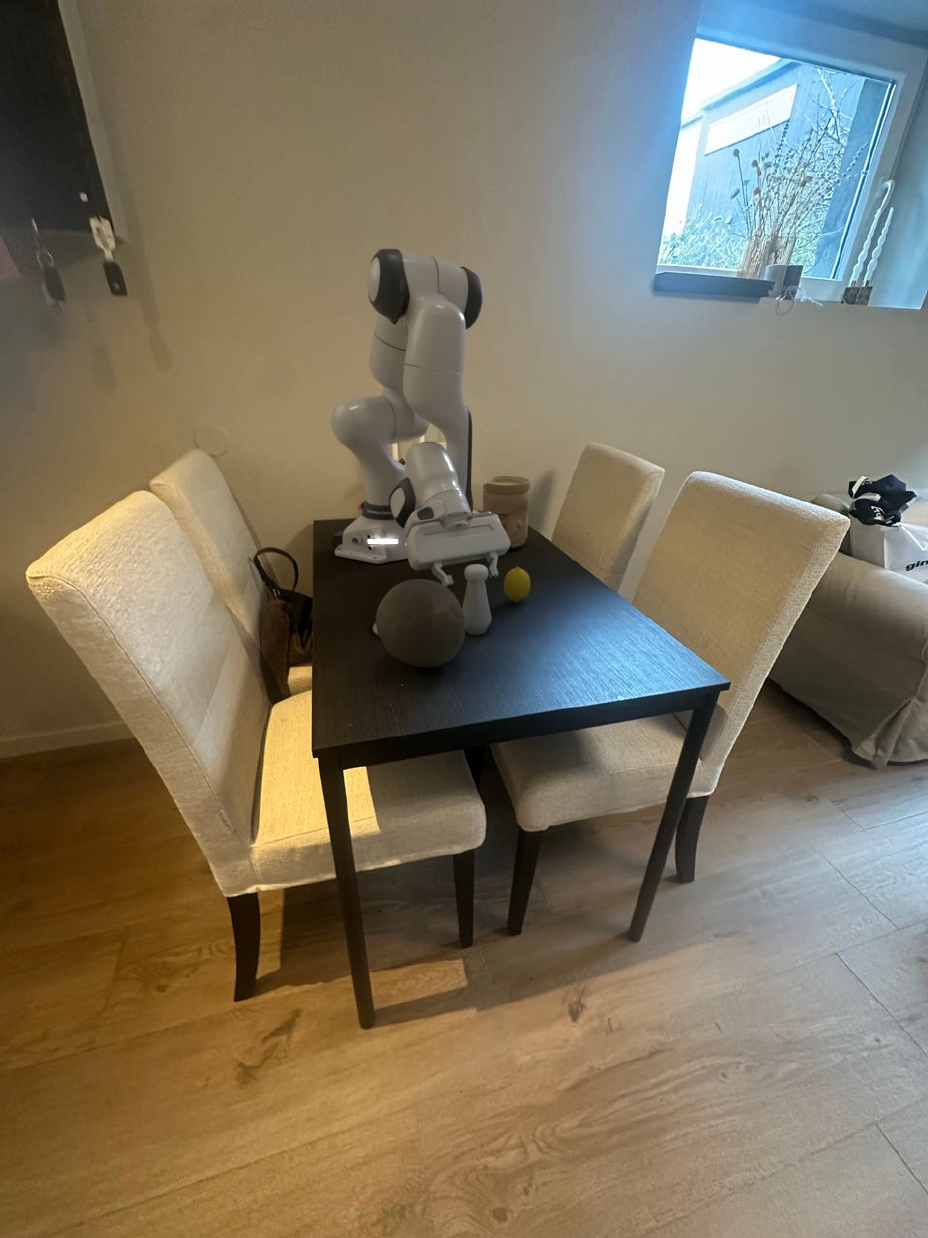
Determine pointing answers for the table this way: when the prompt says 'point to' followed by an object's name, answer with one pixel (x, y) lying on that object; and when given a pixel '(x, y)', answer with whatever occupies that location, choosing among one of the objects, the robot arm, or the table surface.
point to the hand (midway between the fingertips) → (471, 581)
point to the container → (509, 505)
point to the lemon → (517, 584)
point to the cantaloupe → (421, 623)
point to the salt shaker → (476, 600)
